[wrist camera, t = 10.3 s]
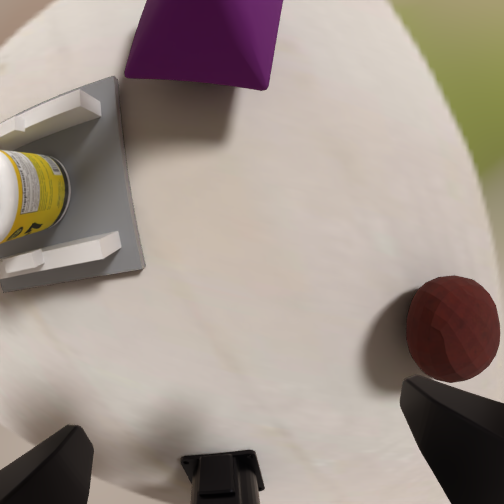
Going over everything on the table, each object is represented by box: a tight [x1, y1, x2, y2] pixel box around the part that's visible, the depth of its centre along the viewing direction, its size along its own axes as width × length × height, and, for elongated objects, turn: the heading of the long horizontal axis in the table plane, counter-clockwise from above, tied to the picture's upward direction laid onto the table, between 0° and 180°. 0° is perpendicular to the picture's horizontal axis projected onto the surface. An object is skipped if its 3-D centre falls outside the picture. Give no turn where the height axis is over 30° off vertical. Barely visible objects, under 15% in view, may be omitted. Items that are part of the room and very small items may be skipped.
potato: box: [406, 276, 500, 383], centre depth 18 cm, size 7×10×6 cm
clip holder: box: [0, 76, 146, 293], centre depth 15 cm, size 12×12×5 cm
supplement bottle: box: [0, 150, 71, 244], centre depth 12 cm, size 5×5×8 cm
